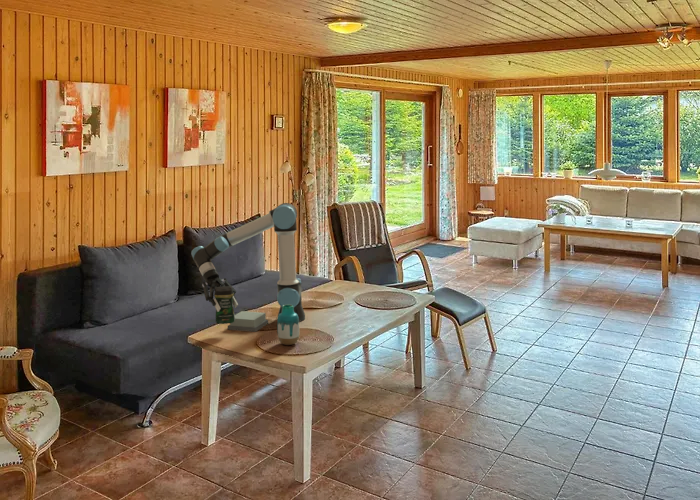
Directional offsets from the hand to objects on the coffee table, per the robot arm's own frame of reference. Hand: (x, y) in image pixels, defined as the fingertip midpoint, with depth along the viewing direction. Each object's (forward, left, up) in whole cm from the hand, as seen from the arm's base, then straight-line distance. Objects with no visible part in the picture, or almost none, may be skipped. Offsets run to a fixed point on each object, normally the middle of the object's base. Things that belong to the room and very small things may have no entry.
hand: (227, 308), depth 321 cm
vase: (-34, +3, -15) cm, 37 cm away
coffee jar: (+3, -2, -8) cm, 9 cm away
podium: (-2, -19, -15) cm, 24 cm away
